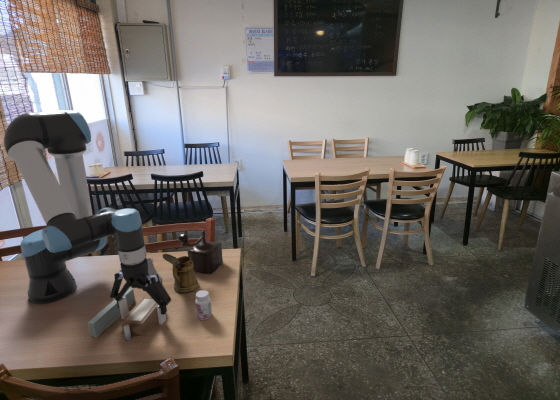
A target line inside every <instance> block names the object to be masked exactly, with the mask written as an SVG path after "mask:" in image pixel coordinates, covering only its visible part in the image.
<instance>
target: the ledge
mask: <svg viewBox="0 0 560 400" xmlns="http://www.w3.org/2000/svg"><path fill="white" fill-rule="evenodd" d="M123 297H126V300H127V306H128V308H130V307H131V306H132V305H133V304H134V303H135V302H136V298H135V292H134V288H132V287H129V289H128V290H127V292H126V293H125V294H124V296H123ZM119 317H121V313H120V308H118V305H117V301H116V300H115V299H113V300H112V301H111V302H110V303H109V304H108V305H107V306H106V307H104V308H103V309H101V311H99V312H98V313H97V314H96V315H95V316H94V317H92V318H91V319H90V320H89V321H88V322H87V325H88V329H89V333H90V337H93V338H98V337H99V336H100V335H101V334H102V333H103V332H104V331H105V330H106V329H107V328H108V327H109V326H110V325H111V324H113V323H114V322H115V321H116V320H117V319H118V318H119ZM123 328H124V333H125V335H124V338H125V341H130V340H132V336H131V333H130V327H129V325H125V326H124V327H123Z"/></svg>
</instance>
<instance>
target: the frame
mask: <svg viewBox="0 0 560 400" xmlns="http://www.w3.org/2000/svg"><path fill="white" fill-rule="evenodd" d="M157 306H158V304H157V303H156V302H155V301H154V300H153V299H152V298H151V297H150V296H149V297H147V296H143V297H142V298H141V299H140V300H139V301H138V302H137V303H136V305H134V307H133V308H132V309H131V310H130V311H129V314H128V315H127V316H126V317H125V318H124V319H121V321H120V324H121V330H122V335H123V336H125V333H124V328H123V327H124V326H125V325H129V327H130V333H131V337H141V338H145V337H146V336H147V335H148V333H149V332H150V331H151V330H152V328H153V327H154V326H155V324H156V323H157V322H158V321H159V318H158V312H157Z"/></svg>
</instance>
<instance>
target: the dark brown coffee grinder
mask: <svg viewBox="0 0 560 400" xmlns="http://www.w3.org/2000/svg"><path fill="white" fill-rule="evenodd" d="M177 240H178V242H180V243H181V246H182V247H190V248H188V249H187V251H186V252H187V256H188V257H191V259H192V261H193V264H194V271H195V274H196V273H198V274H201V275H202V274H203V275H213V274H214V273H215V272H216V271H217V270H218V269H219V268H220V267H221V266H222V265H223V263H224V259H223V251H222V250H223V248H222V242H215V241H207V240H206V230H205V229H203V230H201V236H200V238H199V239H198V240H196V241H195V242H194V243H190V242H189V235H188V234H187V233H181V234H179V235H178V238H177ZM219 266H220V267H219Z"/></svg>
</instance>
